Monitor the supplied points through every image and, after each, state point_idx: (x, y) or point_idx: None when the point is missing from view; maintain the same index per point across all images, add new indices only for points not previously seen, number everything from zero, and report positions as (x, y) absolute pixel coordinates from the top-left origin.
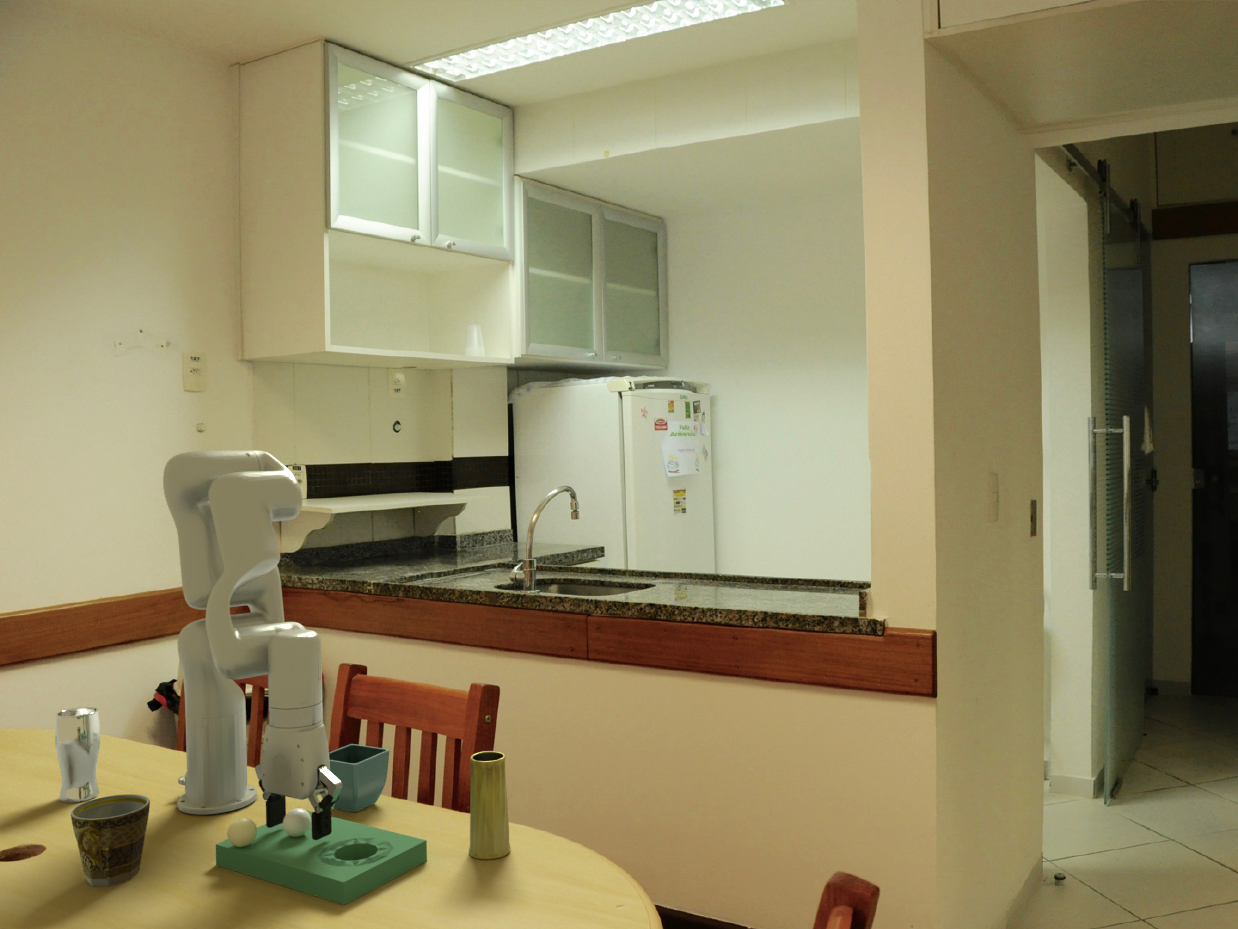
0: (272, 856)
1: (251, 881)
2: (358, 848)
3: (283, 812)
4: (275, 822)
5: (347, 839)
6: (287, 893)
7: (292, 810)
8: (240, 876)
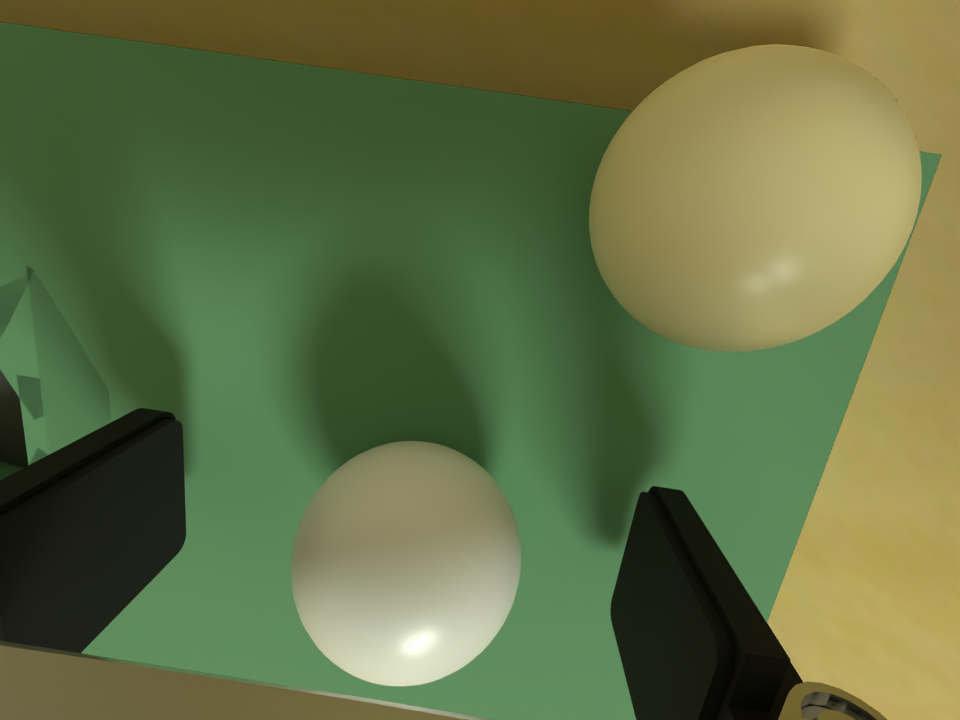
0: (313, 135)
1: (445, 61)
2: None
3: (630, 655)
4: (635, 545)
5: None
6: (121, 9)
7: (409, 615)
8: (563, 95)
